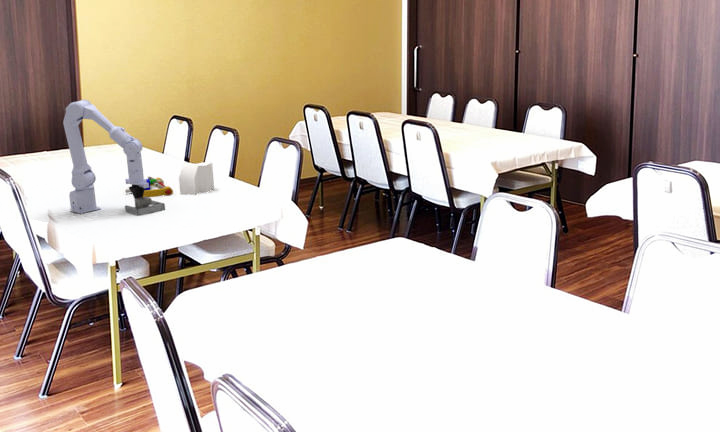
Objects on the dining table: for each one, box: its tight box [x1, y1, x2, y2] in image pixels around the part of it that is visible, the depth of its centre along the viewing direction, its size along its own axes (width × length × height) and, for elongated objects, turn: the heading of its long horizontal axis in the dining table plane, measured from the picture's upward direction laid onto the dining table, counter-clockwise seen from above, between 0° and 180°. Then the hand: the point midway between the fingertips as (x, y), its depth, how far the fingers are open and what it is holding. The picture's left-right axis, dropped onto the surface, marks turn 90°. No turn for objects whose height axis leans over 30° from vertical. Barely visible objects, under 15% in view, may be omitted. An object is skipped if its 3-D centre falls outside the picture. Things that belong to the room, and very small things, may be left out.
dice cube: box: [134, 197, 152, 209], centre depth 311 cm, size 5×5×5 cm
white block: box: [178, 162, 215, 195], centre depth 341 cm, size 11×11×12 cm
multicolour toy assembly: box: [125, 175, 174, 198], centre depth 347 cm, size 18×6×30 cm
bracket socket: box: [124, 199, 166, 216], centre depth 311 cm, size 12×11×3 cm
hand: (139, 203), depth 314 cm, fingers closed
